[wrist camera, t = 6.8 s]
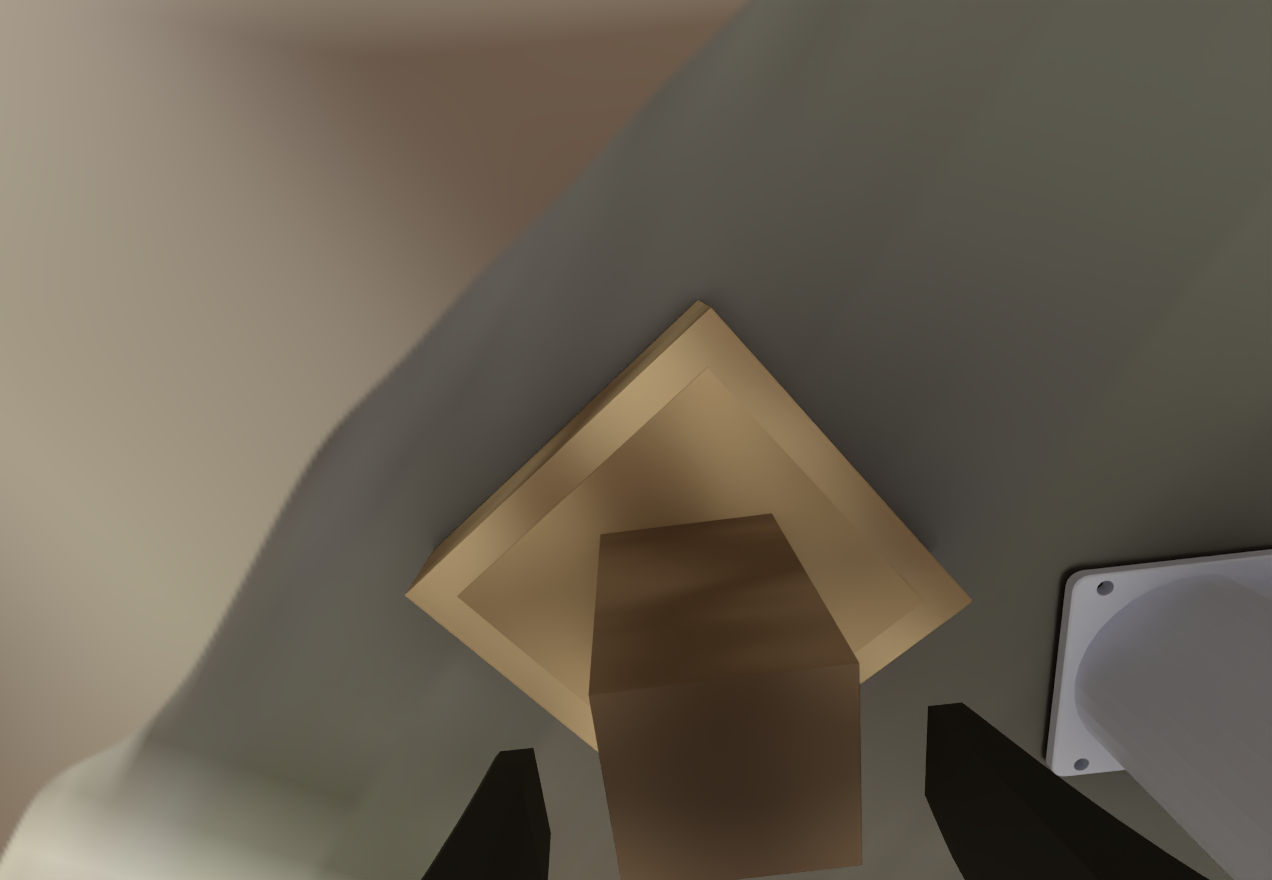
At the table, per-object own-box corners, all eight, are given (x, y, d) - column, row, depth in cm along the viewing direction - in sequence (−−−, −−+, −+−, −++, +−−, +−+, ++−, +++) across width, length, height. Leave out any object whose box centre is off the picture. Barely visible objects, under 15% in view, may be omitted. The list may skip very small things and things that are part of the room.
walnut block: (771, 513, 16) (858, 662, 10) (780, 658, 17) (861, 864, 11) (600, 534, 16) (588, 695, 10) (622, 677, 17) (623, 892, 11)
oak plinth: (697, 299, 16) (711, 307, 14) (928, 557, 19) (974, 602, 16) (432, 551, 18) (404, 596, 16) (672, 753, 21) (679, 819, 19)
